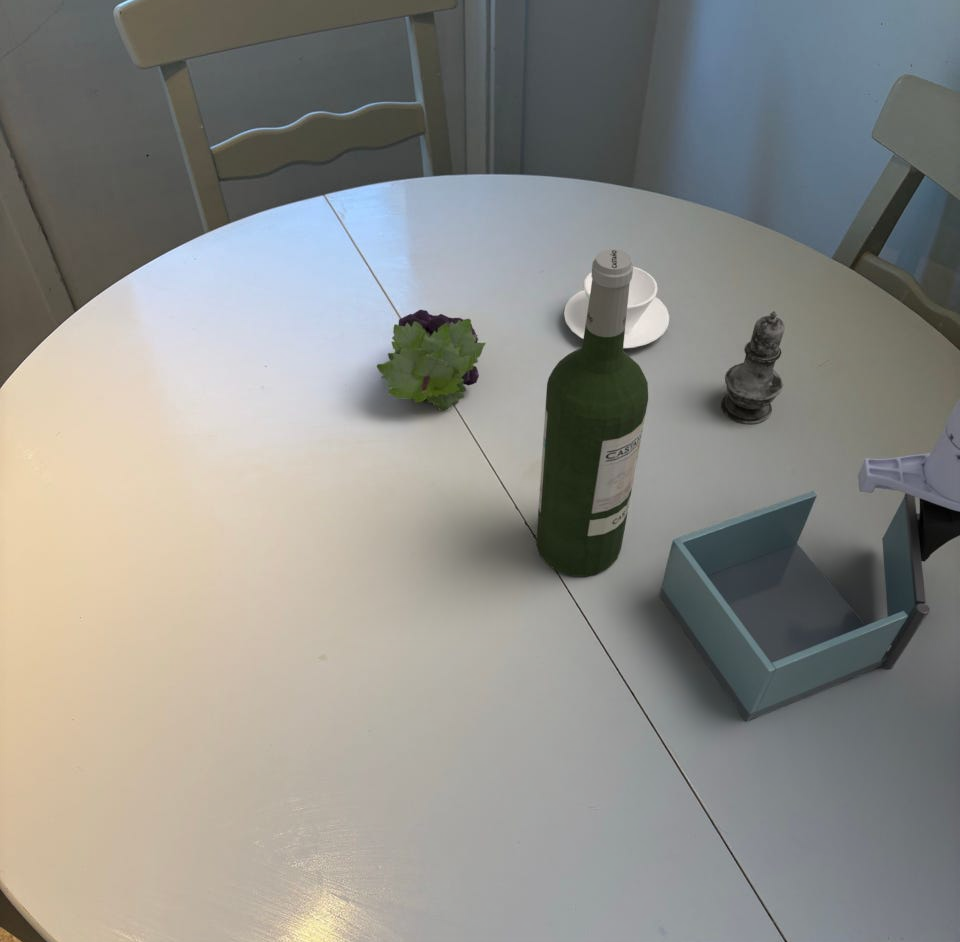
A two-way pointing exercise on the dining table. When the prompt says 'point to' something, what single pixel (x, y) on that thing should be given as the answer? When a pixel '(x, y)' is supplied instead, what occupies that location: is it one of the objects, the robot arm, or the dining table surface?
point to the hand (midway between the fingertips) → (918, 552)
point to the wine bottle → (592, 433)
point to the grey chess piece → (755, 374)
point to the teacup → (643, 310)
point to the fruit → (432, 359)
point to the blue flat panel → (903, 561)
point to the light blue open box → (772, 611)
